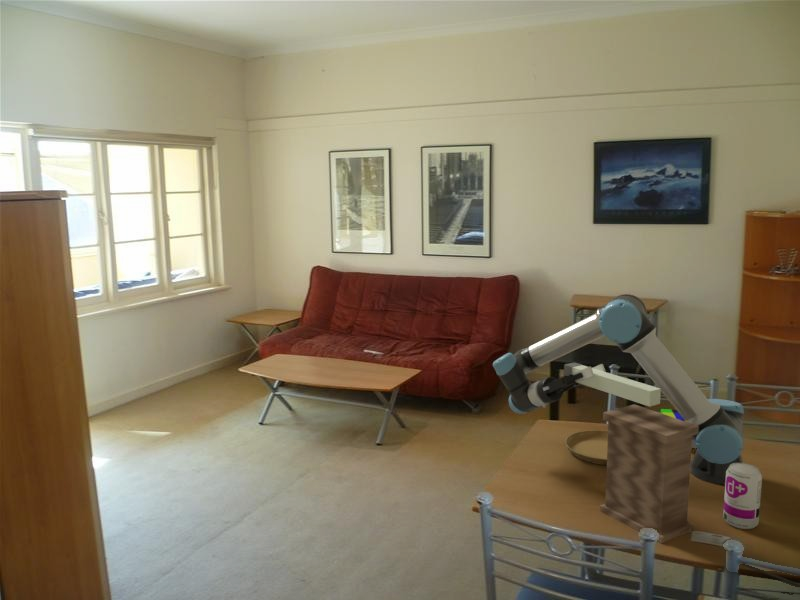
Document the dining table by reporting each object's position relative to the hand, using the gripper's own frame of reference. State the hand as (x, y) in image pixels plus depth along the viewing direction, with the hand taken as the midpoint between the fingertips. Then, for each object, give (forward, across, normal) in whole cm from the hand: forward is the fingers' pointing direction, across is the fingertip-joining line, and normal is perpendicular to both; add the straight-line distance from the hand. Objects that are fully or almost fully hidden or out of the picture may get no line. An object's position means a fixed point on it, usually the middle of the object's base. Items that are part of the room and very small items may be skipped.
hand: (597, 369), depth 185 cm
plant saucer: (-36, -25, -23) cm, 49 cm away
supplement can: (+9, -20, -48) cm, 53 cm away
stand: (-3, 0, -41) cm, 41 cm away
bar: (+1, 0, -6) cm, 6 cm away
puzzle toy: (-29, -53, -26) cm, 65 cm away
